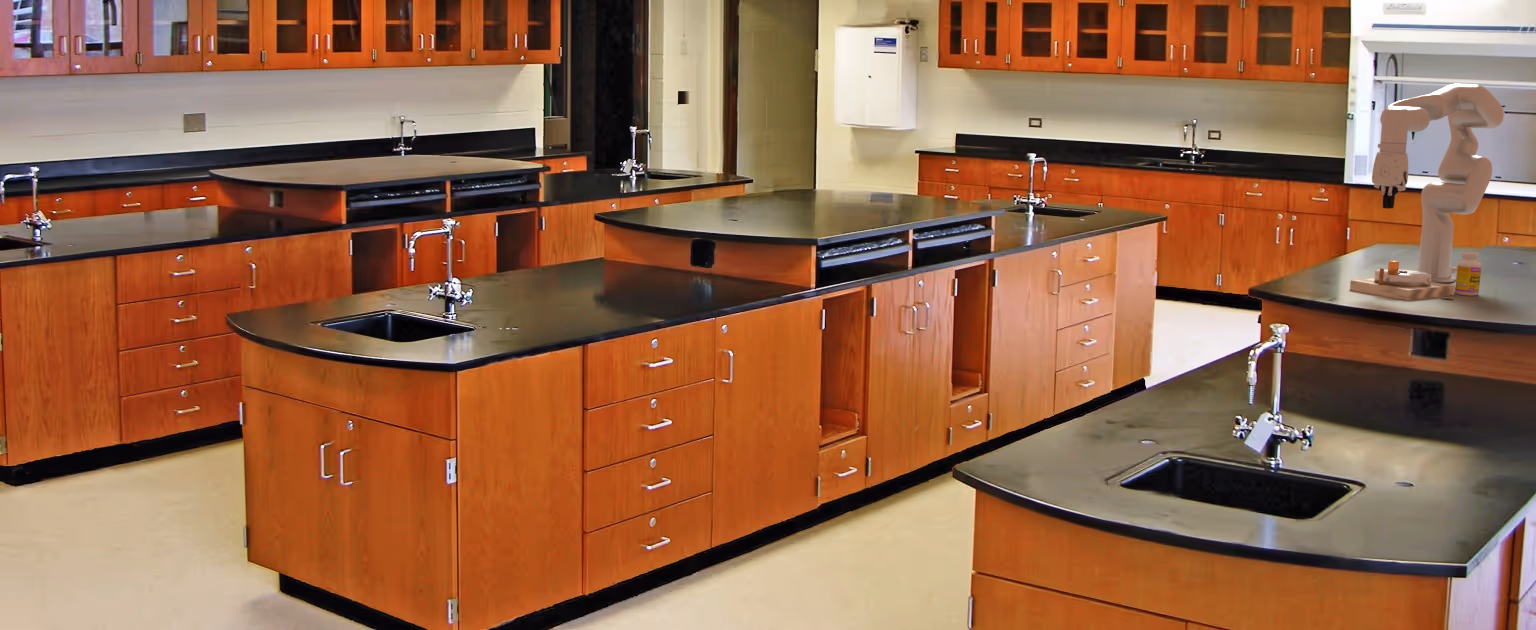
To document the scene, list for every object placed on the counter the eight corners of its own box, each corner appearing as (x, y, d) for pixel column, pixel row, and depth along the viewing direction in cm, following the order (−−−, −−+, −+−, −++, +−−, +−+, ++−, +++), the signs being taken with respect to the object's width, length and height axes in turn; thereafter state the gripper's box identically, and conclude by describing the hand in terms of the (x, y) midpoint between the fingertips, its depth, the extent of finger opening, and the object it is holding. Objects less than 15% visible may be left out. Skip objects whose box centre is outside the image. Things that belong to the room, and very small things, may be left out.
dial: (1393, 277, 486) (1395, 255, 485) (1441, 284, 473) (1443, 261, 472) (1363, 281, 477) (1365, 258, 475) (1411, 288, 464) (1413, 265, 463)
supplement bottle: (1468, 296, 470) (1472, 254, 467) (1449, 293, 475) (1453, 251, 473) (1483, 295, 473) (1487, 253, 470) (1464, 292, 478) (1468, 250, 476)
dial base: (1395, 285, 490) (1397, 260, 488) (1453, 295, 472) (1456, 269, 470) (1349, 289, 479) (1351, 264, 478) (1407, 300, 461) (1410, 273, 460)
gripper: (1364, 147, 481) (1359, 206, 484) (1405, 150, 468) (1400, 211, 471) (1380, 146, 485) (1375, 205, 488) (1421, 149, 472) (1416, 210, 475)
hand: (1388, 208), depth 480 cm, fingers closed
